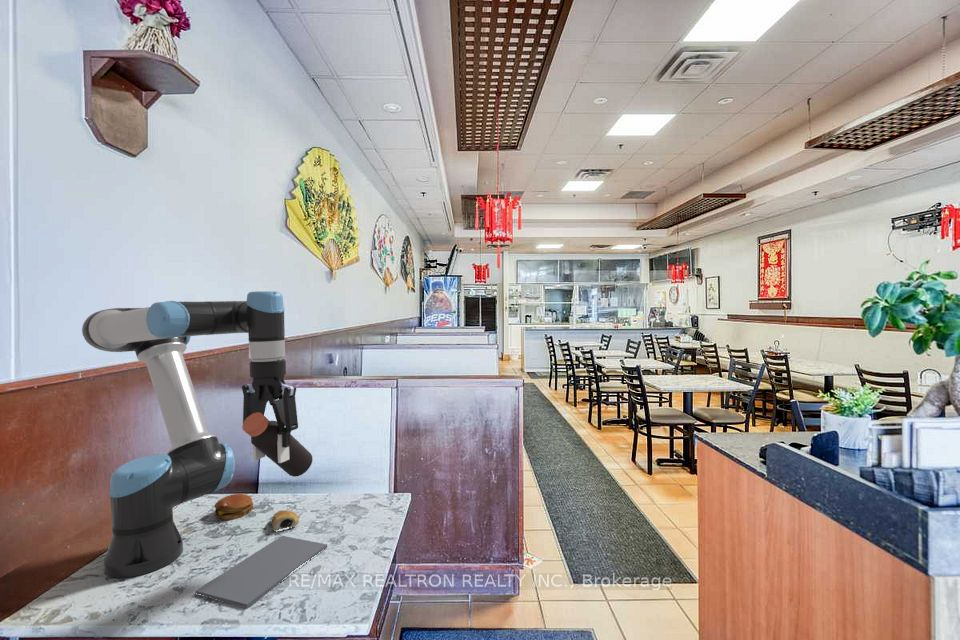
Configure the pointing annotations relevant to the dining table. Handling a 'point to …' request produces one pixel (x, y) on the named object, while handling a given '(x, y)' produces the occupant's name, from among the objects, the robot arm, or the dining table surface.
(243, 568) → the mat
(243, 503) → the burger
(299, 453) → the vinegar
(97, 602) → the dining table surface
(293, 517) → the pastry
